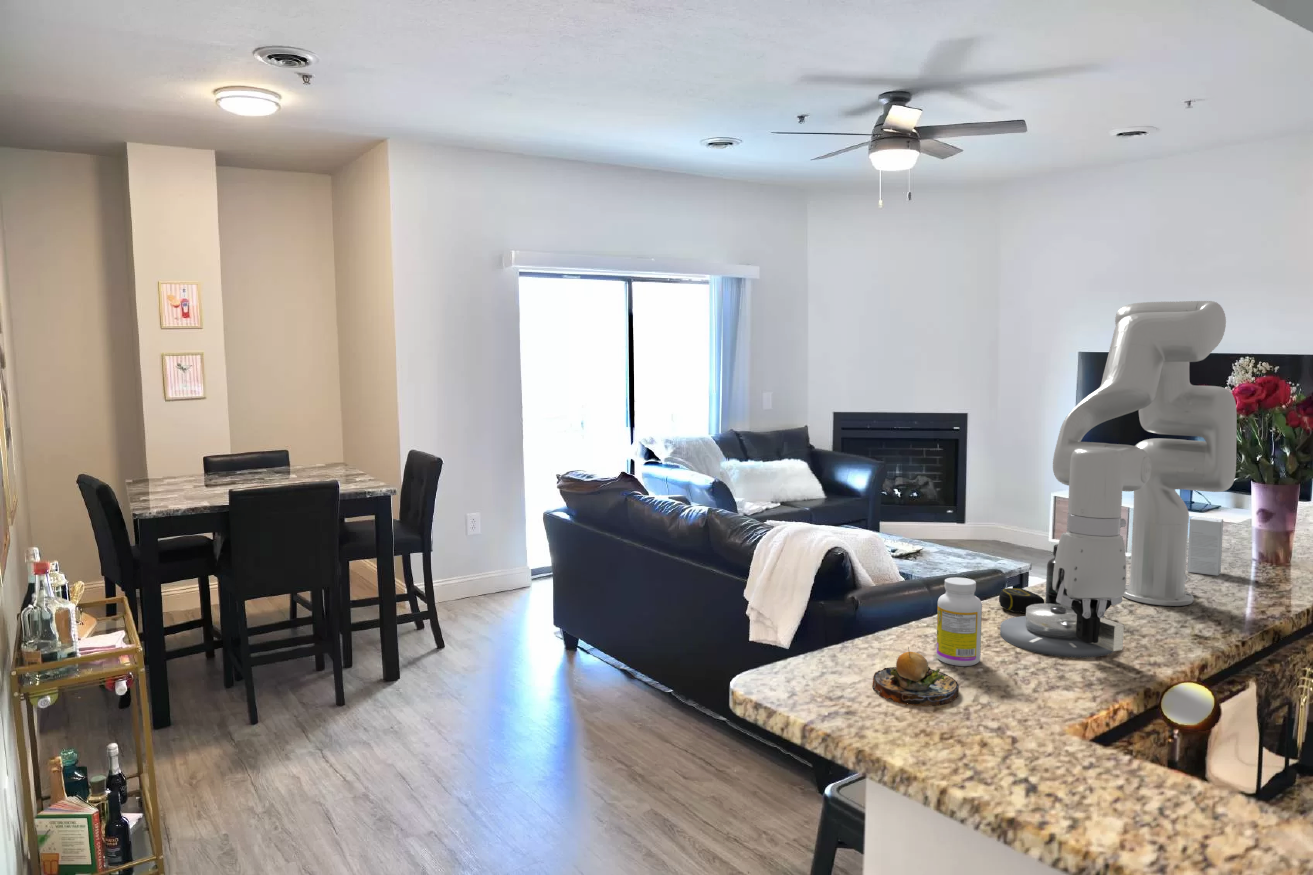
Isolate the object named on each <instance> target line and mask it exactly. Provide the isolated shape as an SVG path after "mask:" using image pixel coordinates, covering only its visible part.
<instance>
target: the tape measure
mask: <svg viewBox="0 0 1313 875" xmlns="http://www.w3.org/2000/svg"><path fill="white" fill-rule="evenodd" d="M998 603H999V606H1001V608H1003V609H1004V610H1008V611H1010V612H1013V613H1025V614H1026V608H1027V607H1028V606H1030V605H1033V604H1045V600H1044V598H1043V597H1042V596H1040V595H1038V594H1036V593H1035V592H1032V591H1030V590H1027V589H1024V588H1021V587H1018V588H1017V587H1016V588H1012V587H1008V588H1003V589H1001V591H1000V593H999V597H998Z"/></svg>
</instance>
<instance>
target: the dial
mask: <svg viewBox="0 0 1313 875" xmlns="http://www.w3.org/2000/svg"><path fill="white" fill-rule="evenodd" d="M1025 616H1026V625H1025V626H1026V628H1027V629H1028V630H1030V631H1032V632H1034V633H1037V634H1040V635H1044V636H1049V637H1055V638H1066V639H1075V638H1077V634H1076V622H1077V614H1075V613H1074V612H1073V610H1072V609H1071V607H1069V606H1064V605H1060V604H1045V603H1044V604H1033V605H1030V606H1028V607H1027V608H1026V613H1025ZM1124 630H1125V625H1124V624H1123V623H1119V622H1116V621H1113V620H1110V619H1107V618H1104V617H1103V618H1100V630H1099V635H1098V643H1093V642H1092V644H1095V645H1098V646H1100V647H1103V648H1106V649H1109V650H1111V651H1114V652H1117V651H1122V650H1123V648H1124Z"/></svg>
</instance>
